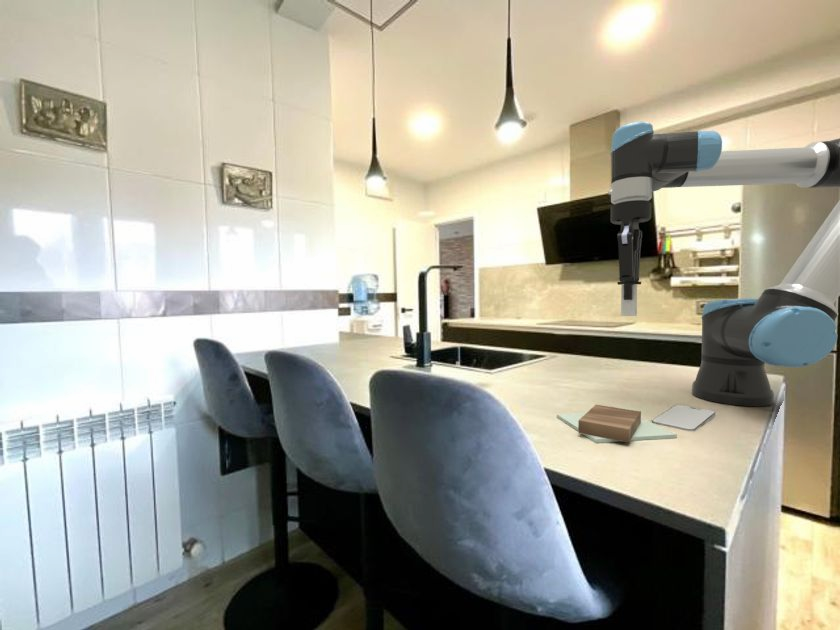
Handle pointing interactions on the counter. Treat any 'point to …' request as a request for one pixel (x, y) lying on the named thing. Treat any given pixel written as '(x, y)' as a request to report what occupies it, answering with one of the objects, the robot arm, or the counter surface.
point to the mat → (642, 433)
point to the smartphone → (684, 417)
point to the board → (610, 422)
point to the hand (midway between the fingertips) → (628, 315)
